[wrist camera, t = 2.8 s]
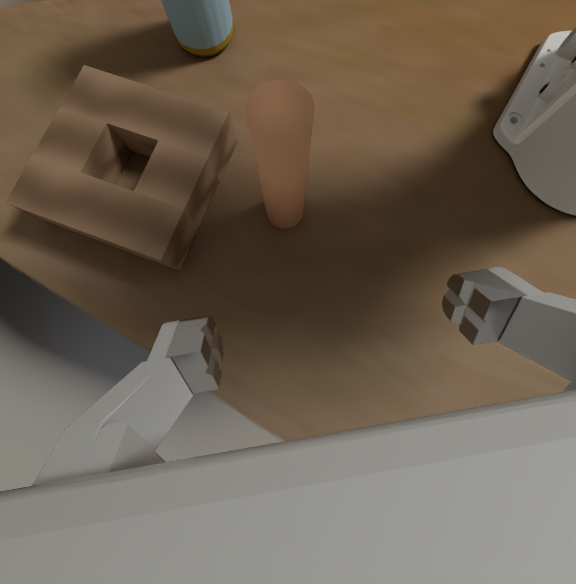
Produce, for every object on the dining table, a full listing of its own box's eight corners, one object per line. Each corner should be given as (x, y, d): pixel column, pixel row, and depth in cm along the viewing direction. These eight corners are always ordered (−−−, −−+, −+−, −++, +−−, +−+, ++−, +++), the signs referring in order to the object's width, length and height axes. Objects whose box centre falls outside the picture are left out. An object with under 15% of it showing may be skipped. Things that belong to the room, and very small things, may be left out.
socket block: (111, 99, 30) (84, 64, 26) (237, 141, 29) (228, 111, 25) (45, 221, 28) (5, 202, 24) (179, 270, 27) (160, 260, 23)
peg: (274, 189, 28) (260, 70, 15) (308, 201, 28) (323, 90, 15) (260, 221, 28) (235, 126, 15) (295, 233, 27) (300, 148, 15)
